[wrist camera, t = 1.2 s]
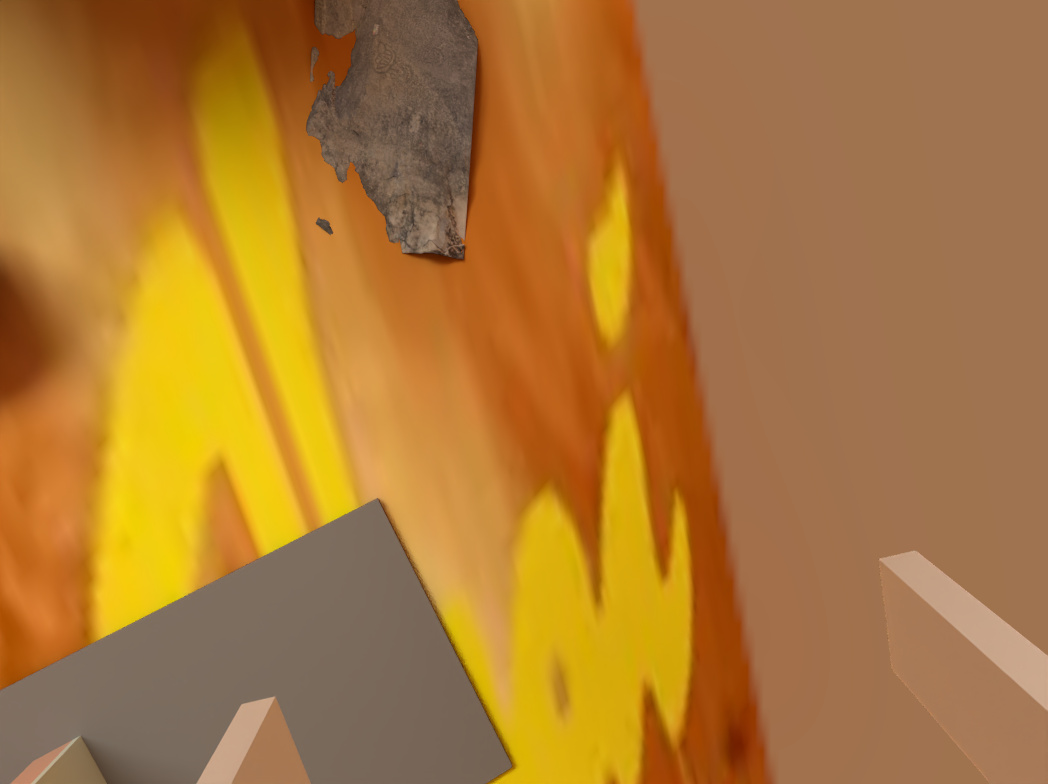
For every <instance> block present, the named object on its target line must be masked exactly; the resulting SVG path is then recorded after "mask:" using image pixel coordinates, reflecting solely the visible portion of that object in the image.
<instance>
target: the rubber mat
mask: <svg viewBox="0 0 1048 784" xmlns="http://www.w3.org/2000/svg"><path fill="white" fill-rule="evenodd" d="M271 697H276V699H277V702H278V704H279V706H280V709H281V711H282V714H283V716H284V719H285V721H286V724H287V726H288V729H289V731H290V734H291V736H292V739H293V741H294V743H295V746H296V748H297V751H298V753H299V756H300V758H301V761H302V763H303V766H304V768H305V771H306V773H307V776H308V778H309V780H310V783H311V784H486V783H488V782H489V781H491V780H492V779H494V778H496V777H497V776H499V775H500V774H502V773H504V772H505V771H507V770H508V769H510V768H511V767H512V764H511V762H510V760H509V758H508V756H507V754H506V752H505V750H504V748H503V746H502V744H501V742H500V740H499V738H498V736H497V734H496V732H495V730H494V728H493V726H492V724H491V722H490V720H489V718H488V716H487V714H486V712H485V710H484V708H483V706H482V704H481V702H480V700H479V698H478V696H477V694H476V692H475V690H474V688H473V686H472V684H471V682H470V680H469V678H468V676H467V674H466V672H465V670H464V668H463V666H462V664H461V662H460V661H459V659H458V657H457V655H456V653H455V651H454V649H453V647H452V645H451V643H450V641H449V639H448V637H447V635H446V633H445V631H444V629H443V627H442V625H441V623H440V621H439V619H438V617H437V615H436V613H435V611H434V609H433V607H432V605H431V603H430V601H429V599H428V597H427V595H426V593H425V591H424V589H423V587H422V585H421V583H420V581H419V579H418V577H417V575H416V573H415V571H414V569H413V567H412V565H411V563H410V561H409V559H408V557H407V555H406V553H405V551H404V549H403V547H402V545H401V543H400V541H399V539H398V537H397V535H396V534H395V532H394V530H393V528H392V526H391V524H390V522H389V520H388V518H387V516H386V514H385V512H384V510H383V508H382V506H381V504H380V502H379V500H378V498H377V499H375V500H373V501H371V502H369V503H367V504H365V505H363V506H361V507H359V508H357V509H355V510H353V511H351V512H349V513H348V514H346V515H344V516H342V517H340V518H338V519H336V520H334V521H332V522H330V523H328V524H326V525H324V526H322V527H320V528H318V529H316V530H314V531H312V532H310V533H308V534H306V535H304V536H302V537H300V538H298V539H296V540H295V541H293V542H291V543H289V544H287V545H285V546H283V547H281V548H279V549H277V550H275V551H273V552H271V553H269V554H267V555H265V556H263V557H261V558H259V559H257V560H255V561H253V562H251V563H249V564H247V565H245V566H243V567H242V568H240V569H238V570H236V571H234V572H232V573H230V574H228V575H226V576H224V577H222V578H220V579H218V580H216V581H214V582H212V583H210V584H208V585H206V586H204V587H202V588H200V589H198V590H196V591H194V592H192V593H190V594H188V595H187V596H185V597H183V598H181V599H179V600H177V601H175V602H173V603H171V604H169V605H167V606H165V607H163V608H161V609H159V610H157V611H155V612H153V613H151V614H149V615H147V616H145V617H143V618H141V619H139V620H137V621H135V622H134V623H132V624H130V625H128V626H126V627H124V628H122V629H120V630H118V631H116V632H114V633H112V634H110V635H108V636H106V637H104V638H102V639H100V640H98V641H96V642H94V643H92V644H90V645H88V646H86V647H84V648H82V649H81V650H79V651H77V652H75V653H73V654H71V655H69V656H67V657H65V658H63V659H61V660H59V661H57V662H55V663H53V664H51V665H49V666H47V667H45V668H43V669H41V670H39V671H37V672H35V673H33V674H31V675H29V676H28V677H26V678H24V679H22V680H20V681H18V682H16V683H14V684H12V685H10V686H8V687H6V688H4V689H2V690H0V784H11V783H12V782H13V781H14V780H15V779H16V778H17V777H18V776H19V775H20V774H21V773H22V772H23V771H24V770H25V769H26V768H27V767H28V766H29V765H30V764H31V763H32V762H33V761H34V760H36V759H38V758H40V757H42V756H44V755H45V754H47V753H49V752H51V751H53V750H55V749H57V748H59V747H60V746H62V745H64V744H66V743H68V742H70V741H72V740H73V739H75V738H77V737H79V736H81V737H82V739H83V741H84V743H85V745H86V746H87V748H88V750H89V752H90V754H91V756H92V757H93V759H94V761H95V763H96V765H97V766H98V768H99V770H100V772H101V774H102V775H103V777H104V779H105V781H106V783H107V784H197V782H198V780H199V778H200V777H201V775H202V773H203V771H204V769H205V768H206V766H207V764H208V762H209V761H210V759H211V757H212V755H213V754H214V752H215V750H216V748H217V747H218V745H219V743H220V741H221V740H222V738H223V736H224V734H225V733H226V731H227V729H228V727H229V725H230V724H231V722H232V720H233V718H234V717H235V715H236V713H237V711H238V710H239V708H240V706H241V704H244V703H249V702H253V701H257V700H262V699H266V698H271Z"/></svg>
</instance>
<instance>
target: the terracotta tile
mask: <svg viewBox="0 0 1048 784" xmlns="http://www.w3.org/2000/svg"><path fill="white" fill-rule="evenodd" d="M11 784H107V783H106V781H105V779H104V777H103V775H102V774H101V772H100V770H99V768H98V766H97V765H96V763H95V761H94V759H93V757H92V756H91V754H90V752H89V750H88V748H87V746H86V745H85V743H84V741H83V739H82V737H81V736H79V737H77V738H75V739H73V740H72V741H70V742H68V743H66V744H64V745H62V746H60V747H59V748H57V749H55V750H53V751H51V752H49V753H47V754H45V755H44V756H42V757H40V758H38V759H36V760H34V761H33V762H32V763H31V764H30V765H29V766H28V767H27V768H26V769H25V770H24V771H23V772H22V773H21V774H20V775H19V776H18V777H17V778H16V779H15V780H14V781H13V782H12V783H11Z"/></svg>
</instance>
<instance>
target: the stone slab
mask: <svg viewBox="0 0 1048 784" xmlns="http://www.w3.org/2000/svg"><path fill="white" fill-rule="evenodd" d="M315 25H316V27H317V28H318V30H319V31H320V33H321V34H322V35H323V34H324V33H325V34H327V35H333V36H334V37H335V38H337V39H341V37H343V36H345V35H347V34H349V33H351V32H353V31H354V30H355V29H356V31H355V35H356V42H355V45H354V48H353V49H352V53H351V67H350V68H349V70H348V73H347V76H346V78H345V80H344V81H343V83H342V84H341V86H337V87H336V88H335V74H334V72H332V71H329V73H328V76H329V77H330V80H329V81H328V83H327V85H326V84H324V85H323V88H322V90H319V91H318V95H317V98H316V100H315V101H314V104H313V105H312V111H311V112H310V115H309V117H308V120H307V127H306V130H307V133H308V135H309V136H314V137H316V138H317V139H319V140H320V143H321V147H322V156H323V158H324V161H325V162H327V163H328V164H330V165H331V166H333V167H334V168H335V171H336V175H337V177H338V180H339V181H340V182H342V183H343V182H344V181H345V180H347V170H348V168H349V165H350V162H352V163H353V164H354V165H355V167H356V169H355V171H356V172H357V173H359V176H360V179H361V183H362V184H363V188H364V189H365V191H366V194H367V196H368V197H369V198H371V199H372V200H373V201H374V203H375V204H376V206H377V208H378V210H379V211H380V212H381V213H382V214H383V215H384V216H385V219H386V224H387V225H386V231H387V234H388V237H389V241H390V242H393V243H397V242H399V238H400V243H401V248H402V253H419V254H420V253H435V254H440V255H443V256H448V257H453V258H459V259H464V245H463V244H462V241H461V238H462V239H464V240H465V229H466V214H467V200H468V186H469V170H470V155H471V141H472V125H473V111H474V95H475V80H476V65H477V48H478V39H477V37H476V36H475V31H474V30H473V28H472V27H471V25H470V23H469V21H468V20H467V19H466V18H465V17H464V13H463V12H462V10H461V9H460V7H459V4H458V1H457V0H315ZM318 56H319V51H318V50H317V48H316V47H313V48H312V54H311V73H310V82H312V81H314V77H313V72H312V71H313V67H314V65H315V63H316V61H317V60H318V58H317V57H318ZM316 224H317V225H319V226H320V227H321V228H323V229H324V230H325V231H326V232H328V233H329V234H330V235H331V234H333V231H332V229H331V227H330V223H329V222H328V221H326V220H324V219H323V220H322V219H319V218H318V219H317V222H316ZM460 237H461V238H460ZM462 250H463V251H462ZM461 251H462V253H461Z"/></svg>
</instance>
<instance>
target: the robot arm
mask: <svg viewBox="0 0 1048 784" xmlns="http://www.w3.org/2000/svg"><path fill="white" fill-rule="evenodd" d="M879 564H880V572H881V581H882V590H883V598H884V606H885V614H886V623H887V630H888V639H889V648H890V656H891V664H892V670H893V671H894V672H895V674H896V675H897V676H898V677H899V678H900V679H901V680H902V681H903V683H904V684H905V685H906V686H907V688H908V689H909V690H910V691H911V692H912V693H913V694H914V696H915V697H916V698H917V699H918V700H919V701H920V703H921V704H922V705H923V706H924V707H925V708H926V710H927V711H928V712H929V713H930V714H931V715H932V717H933V718H934V719H935V720H936V721H937V722H938V724H939V725H940V726H941V727H942V728H943V729H944V730H945V732H946V733H947V734H948V735H949V736H950V737H951V739H953V741H954V742H955V743H956V744H957V746H958V747H959V748H960V749H961V750H962V751H963V753H964V754H965V755H966V756H967V757H968V758H969V759H970V761H971V762H972V763H973V764H974V765H975V766H976V768H977V769H978V770H979V771H980V772H981V773H982V774H983V776H984V777H985V778H986V779H987V780H988V782H989V783H990V784H1048V656H1047V655H1046V654H1045V653H1043V652H1042V651H1041V650H1040V649H1038V648H1037V647H1036V646H1035V645H1033V644H1032V643H1031V642H1029V641H1028V640H1027V639H1026V638H1024V637H1023V636H1022V635H1021V634H1020V633H1018V632H1017V631H1016V630H1015V629H1013V628H1012V627H1011V626H1009V625H1008V624H1007V623H1006V622H1004V621H1003V620H1002V619H1001V618H999V617H998V616H997V615H996V614H994V613H993V612H992V611H991V610H989V609H988V608H987V607H986V606H984V605H983V604H982V603H981V602H979V601H978V600H977V599H976V598H974V597H973V596H972V595H971V594H969V593H968V592H967V591H966V590H964V589H963V588H962V587H961V586H959V585H958V584H957V583H956V582H954V581H953V580H952V579H950V578H949V577H948V576H947V575H946V574H944V573H943V572H942V571H941V570H939V569H938V568H937V567H935V566H934V565H933V564H932V563H930V562H929V561H928V560H927V559H925V558H924V557H923V556H922V555H920V554H919V553H918V552H917V551H912V552H907V553H903V554H898V555H895V556H890V557H885V558H881V559H879ZM197 784H311V783H310V780H309V778H308V776H307V773H306V771H305V768H304V766H303V763H302V761H301V758H300V756H299V753H298V751H297V748H296V746H295V743H294V741H293V739H292V736H291V734H290V731H289V729H288V726H287V724H286V721H285V719H284V716H283V714H282V711H281V709H280V706H279V704H278V702H277V699H276V697H271V698H266V699H262V700H257V701H253V702H249V703H244V704H241V706H240V708H239V710H238V711H237V713H236V715H235V717H234V718H233V720H232V722H231V724H230V725H229V727H228V729H227V731H226V733H225V734H224V736H223V738H222V740H221V741H220V743H219V745H218V747H217V748H216V750H215V752H214V754H213V755H212V757H211V759H210V761H209V762H208V764H207V766H206V768H205V769H204V771H203V773H202V775H201V777H200V778H199V780H198V782H197Z"/></svg>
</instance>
